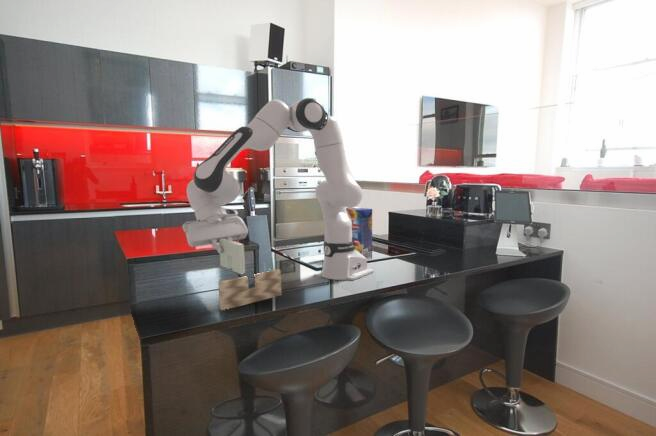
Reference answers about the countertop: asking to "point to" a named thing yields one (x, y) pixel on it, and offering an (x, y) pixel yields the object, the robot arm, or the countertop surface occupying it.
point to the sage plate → (232, 255)
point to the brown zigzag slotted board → (249, 289)
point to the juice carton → (362, 229)
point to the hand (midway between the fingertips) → (226, 251)
